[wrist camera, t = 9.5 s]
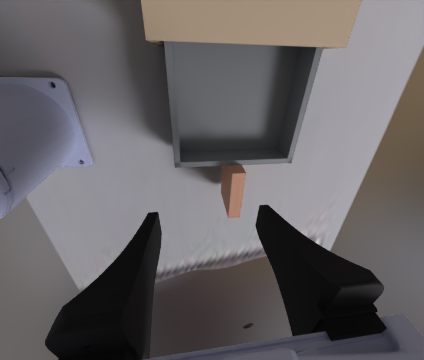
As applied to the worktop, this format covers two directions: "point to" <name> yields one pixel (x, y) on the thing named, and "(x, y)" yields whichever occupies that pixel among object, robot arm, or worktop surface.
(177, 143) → the tray
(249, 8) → the sleeve
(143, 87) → the worktop surface
